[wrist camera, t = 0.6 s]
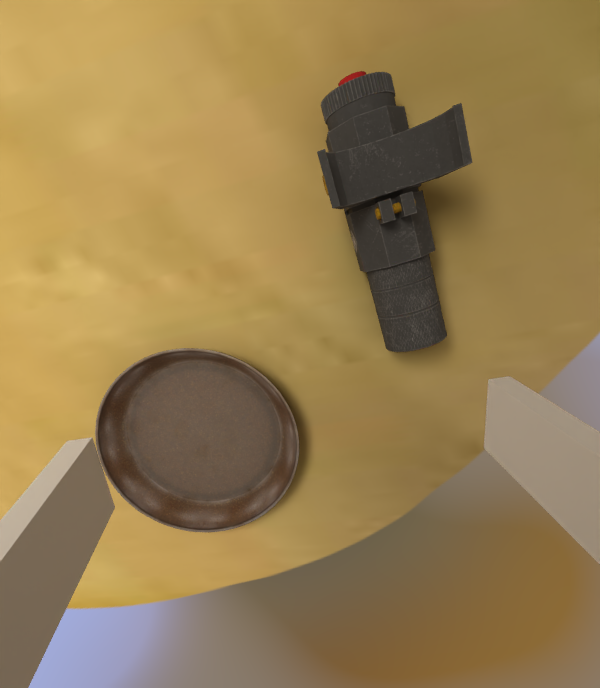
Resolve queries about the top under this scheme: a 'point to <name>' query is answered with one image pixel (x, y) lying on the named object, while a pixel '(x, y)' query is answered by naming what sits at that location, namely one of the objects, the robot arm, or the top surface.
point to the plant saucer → (197, 440)
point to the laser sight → (390, 198)
